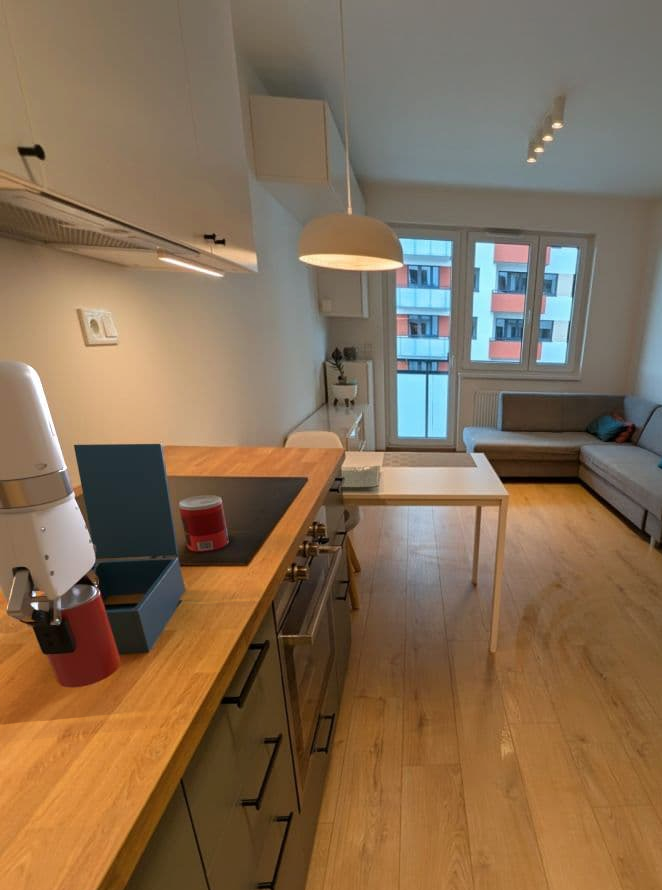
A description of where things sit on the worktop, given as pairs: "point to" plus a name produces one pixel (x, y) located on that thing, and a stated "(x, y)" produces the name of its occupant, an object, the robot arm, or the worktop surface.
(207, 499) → the canned food
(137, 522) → the lid
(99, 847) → the worktop surface
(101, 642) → the can
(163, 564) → the open box
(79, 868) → the worktop surface
